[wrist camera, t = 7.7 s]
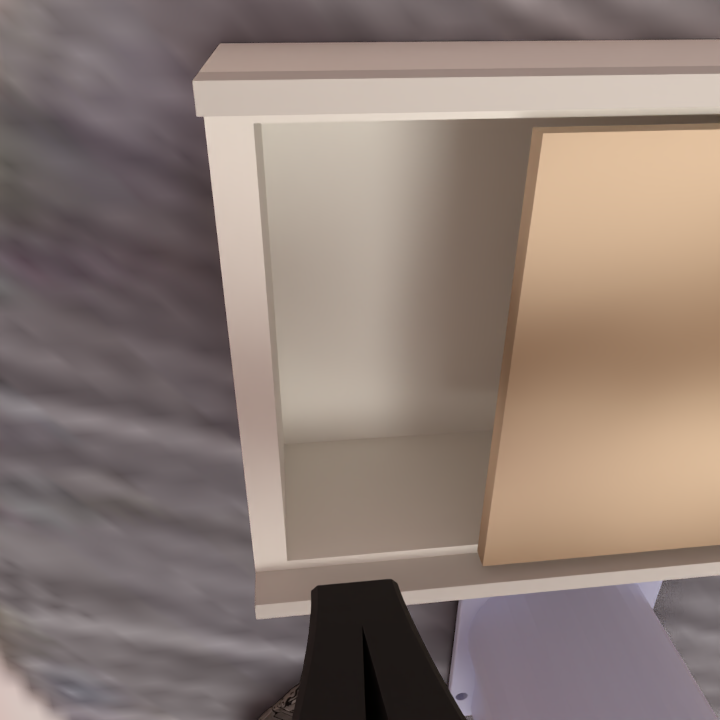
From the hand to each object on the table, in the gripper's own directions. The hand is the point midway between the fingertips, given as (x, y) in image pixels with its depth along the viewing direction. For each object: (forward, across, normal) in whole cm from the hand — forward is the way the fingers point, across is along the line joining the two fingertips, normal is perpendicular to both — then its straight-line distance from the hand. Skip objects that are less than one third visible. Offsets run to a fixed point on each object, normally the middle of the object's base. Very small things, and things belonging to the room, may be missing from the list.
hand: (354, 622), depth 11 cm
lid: (+4, -10, -2) cm, 11 cm away
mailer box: (+9, -5, -2) cm, 11 cm away
